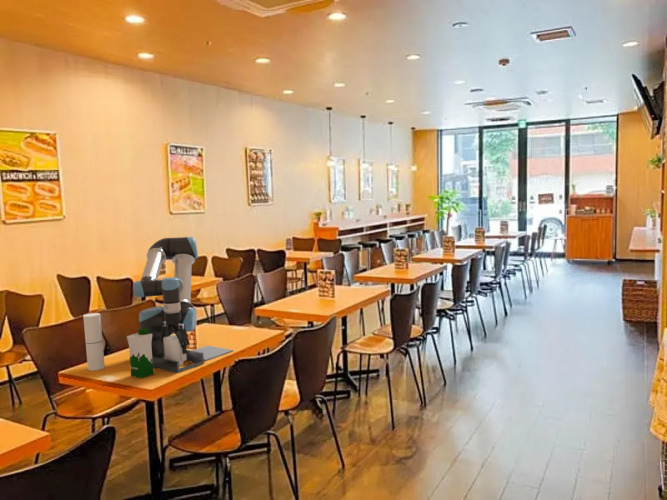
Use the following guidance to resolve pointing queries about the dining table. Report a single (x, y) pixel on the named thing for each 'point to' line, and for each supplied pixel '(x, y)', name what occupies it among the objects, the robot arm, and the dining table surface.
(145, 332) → the milk carton
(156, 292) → the robot arm
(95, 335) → the cylindrical container
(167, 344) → the foam cup
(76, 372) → the dining table surface
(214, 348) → the mat
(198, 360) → the cup stand
